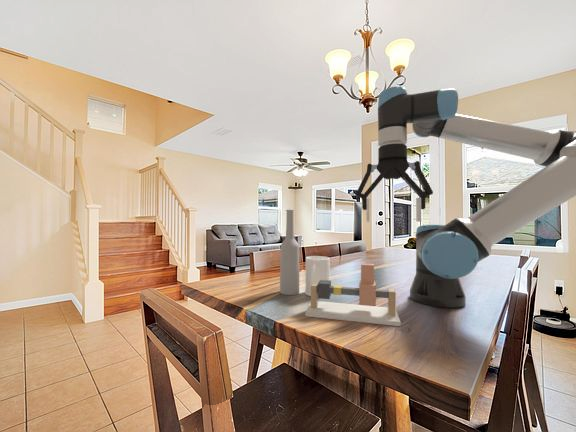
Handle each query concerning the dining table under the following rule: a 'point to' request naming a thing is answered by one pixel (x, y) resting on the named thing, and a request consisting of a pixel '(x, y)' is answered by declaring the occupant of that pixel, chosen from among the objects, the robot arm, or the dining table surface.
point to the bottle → (289, 259)
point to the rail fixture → (351, 305)
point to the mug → (316, 271)
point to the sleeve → (367, 286)
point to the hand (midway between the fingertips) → (392, 221)
